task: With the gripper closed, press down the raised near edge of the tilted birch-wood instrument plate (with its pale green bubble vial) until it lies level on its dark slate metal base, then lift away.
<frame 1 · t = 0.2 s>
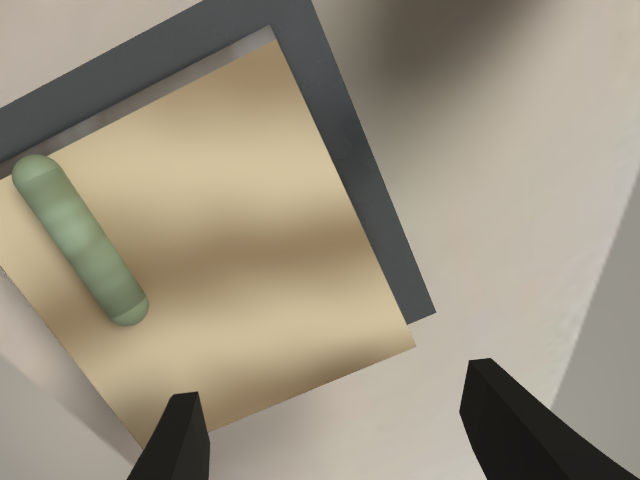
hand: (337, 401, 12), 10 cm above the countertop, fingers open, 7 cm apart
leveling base: (215, 233, 20), on the countertop
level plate: (197, 277, 16), point 4 cm above the countertop, hinge at 12.0°
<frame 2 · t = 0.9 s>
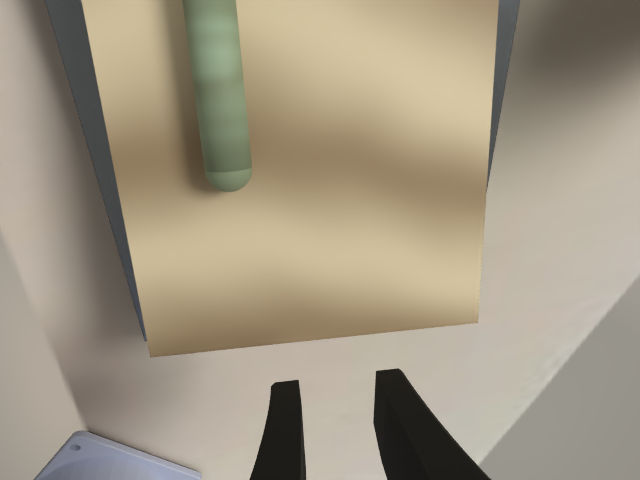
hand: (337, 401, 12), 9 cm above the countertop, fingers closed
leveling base: (300, 146, 18), on the countertop
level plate: (310, 168, 14), point 4 cm above the countertop, hinge at 12.0°
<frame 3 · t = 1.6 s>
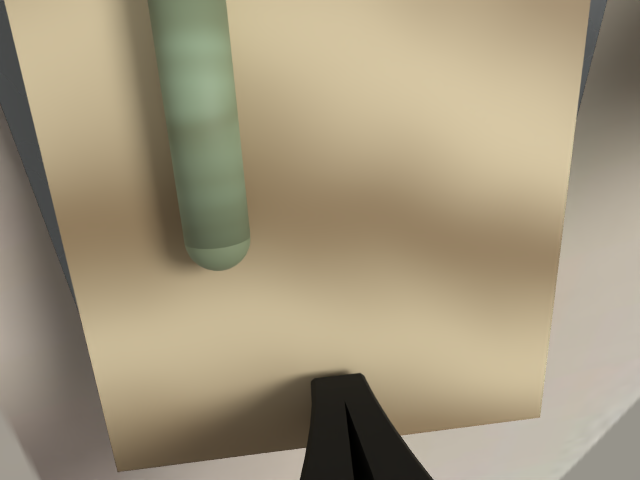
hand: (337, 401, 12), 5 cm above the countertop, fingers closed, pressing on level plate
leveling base: (311, 188, 14), on the countertop
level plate: (329, 233, 10), point 4 cm above the countertop, hinge at 12.0°, touching gripper
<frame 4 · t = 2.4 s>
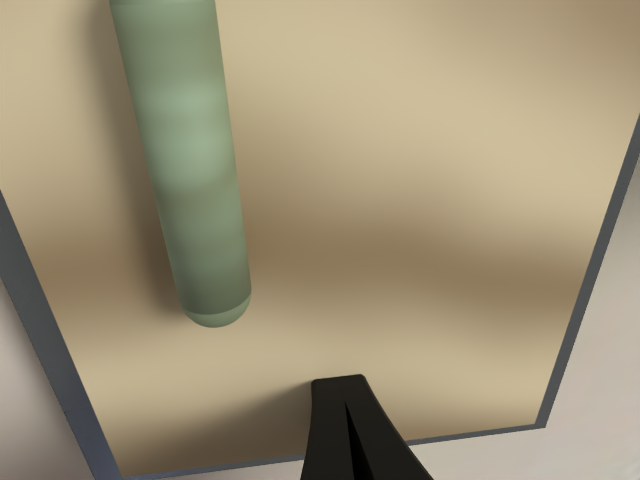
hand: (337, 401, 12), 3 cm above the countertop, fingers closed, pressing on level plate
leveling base: (320, 222, 12), on the countertop
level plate: (337, 275, 10), point 3 cm above the countertop, hinge at -0.6°, touching gripper
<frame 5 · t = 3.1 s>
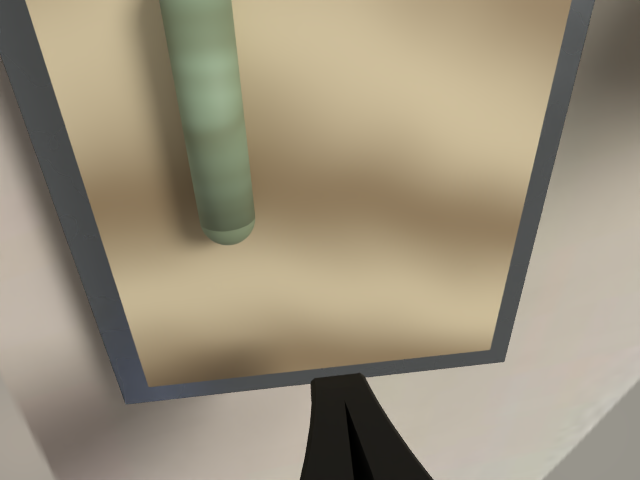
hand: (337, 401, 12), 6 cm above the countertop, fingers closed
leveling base: (311, 178, 15), on the countertop
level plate: (322, 210, 12), point 3 cm above the countertop, hinge at -0.7°
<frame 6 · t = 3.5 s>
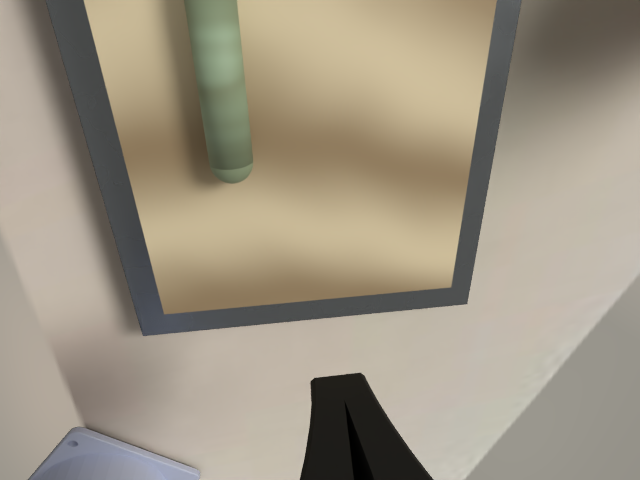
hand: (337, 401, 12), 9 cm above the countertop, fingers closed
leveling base: (300, 139, 18), on the countertop
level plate: (307, 158, 15), point 3 cm above the countertop, hinge at -0.7°
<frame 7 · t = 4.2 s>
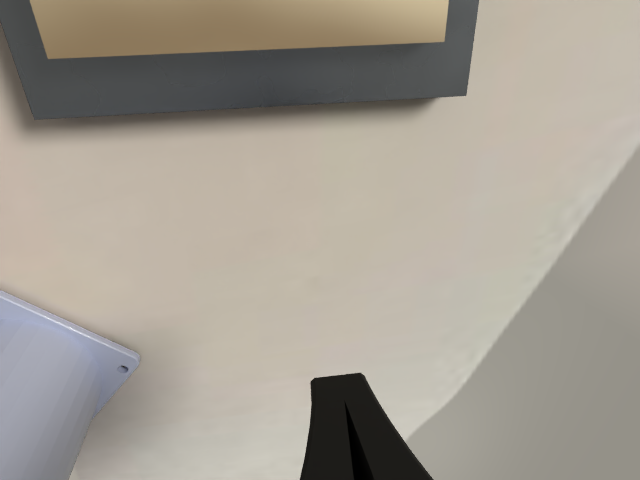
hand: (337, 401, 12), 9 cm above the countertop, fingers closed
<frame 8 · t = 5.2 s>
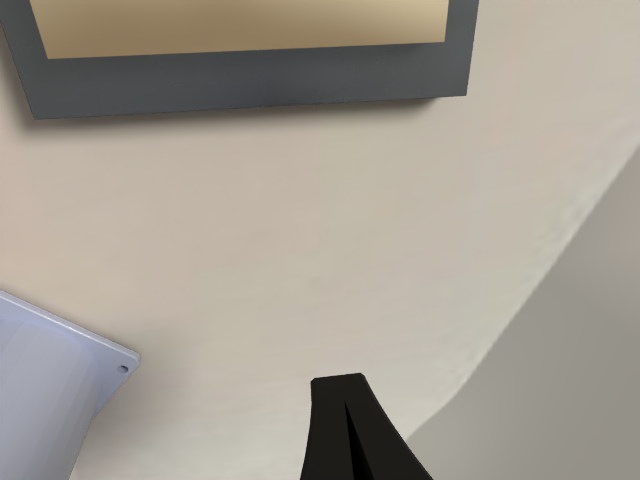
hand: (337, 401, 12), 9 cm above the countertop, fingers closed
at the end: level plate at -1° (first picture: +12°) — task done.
